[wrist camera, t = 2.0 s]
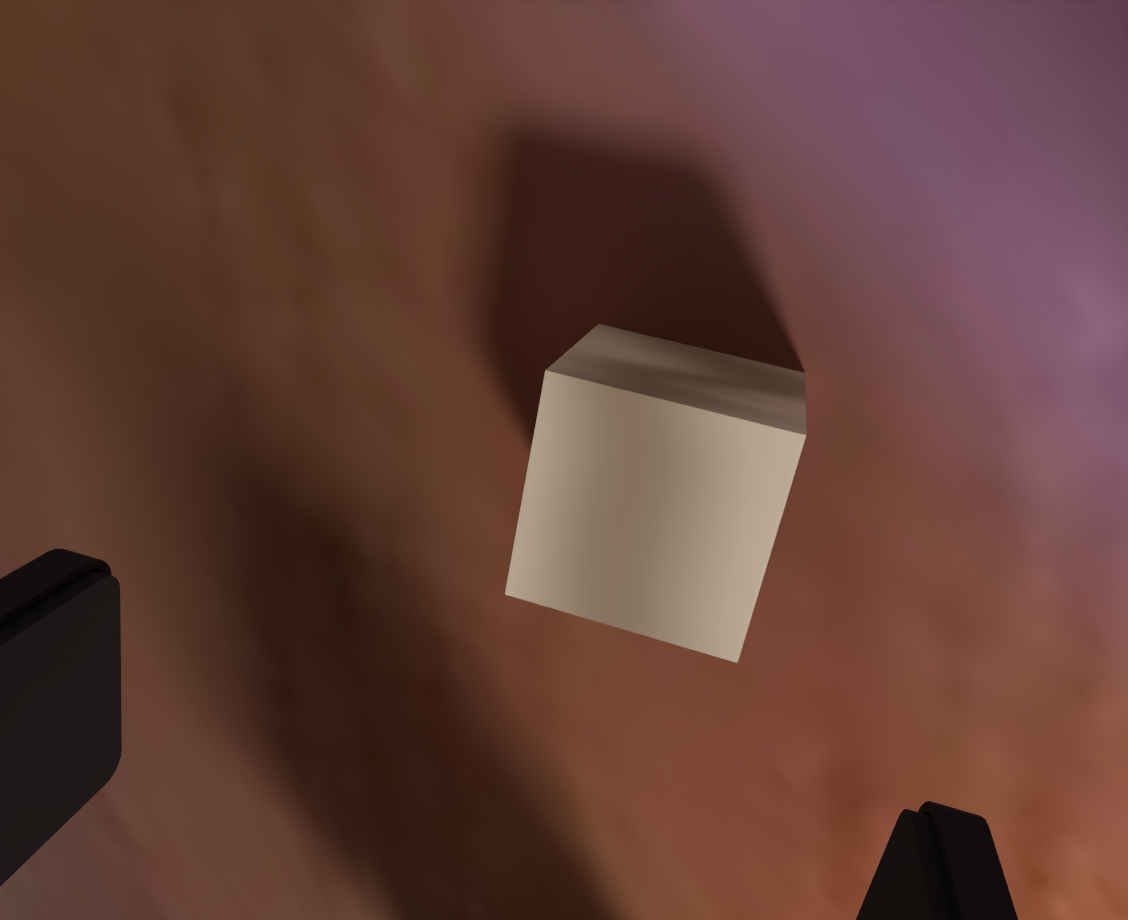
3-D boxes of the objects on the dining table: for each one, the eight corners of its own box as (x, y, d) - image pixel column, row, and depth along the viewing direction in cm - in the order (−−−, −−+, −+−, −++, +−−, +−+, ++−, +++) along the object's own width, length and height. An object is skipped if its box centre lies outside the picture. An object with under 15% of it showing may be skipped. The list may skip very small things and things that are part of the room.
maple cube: (805, 372, 21) (806, 435, 16) (750, 558, 23) (737, 662, 18) (599, 323, 22) (545, 370, 17) (562, 507, 23) (505, 594, 19)
